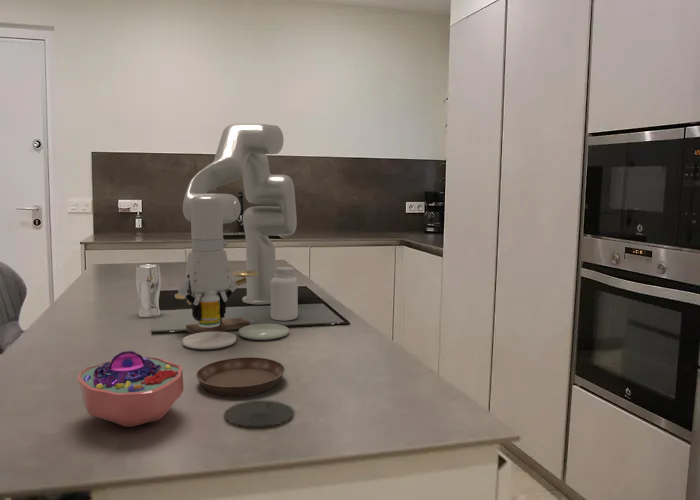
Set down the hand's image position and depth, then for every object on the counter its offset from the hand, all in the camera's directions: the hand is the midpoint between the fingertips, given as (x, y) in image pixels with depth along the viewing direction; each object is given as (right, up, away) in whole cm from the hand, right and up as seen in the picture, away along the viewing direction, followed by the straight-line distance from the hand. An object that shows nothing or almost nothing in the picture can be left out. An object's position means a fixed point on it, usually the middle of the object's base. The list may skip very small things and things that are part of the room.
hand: (209, 317), depth 149 cm
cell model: (-3, -13, -45) cm, 47 cm away
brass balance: (-1, -5, +15) cm, 16 cm away
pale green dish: (+12, -6, +9) cm, 16 cm away
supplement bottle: (0, -2, 0) cm, 2 cm away
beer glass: (-25, -3, +30) cm, 39 cm away
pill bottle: (+16, -3, +28) cm, 32 cm away
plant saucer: (+13, -11, -27) cm, 32 cm away
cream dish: (0, -7, +1) cm, 7 cm away
